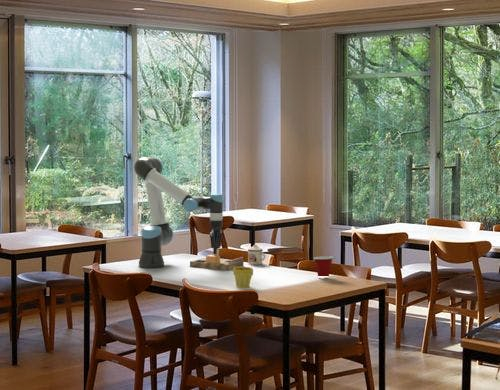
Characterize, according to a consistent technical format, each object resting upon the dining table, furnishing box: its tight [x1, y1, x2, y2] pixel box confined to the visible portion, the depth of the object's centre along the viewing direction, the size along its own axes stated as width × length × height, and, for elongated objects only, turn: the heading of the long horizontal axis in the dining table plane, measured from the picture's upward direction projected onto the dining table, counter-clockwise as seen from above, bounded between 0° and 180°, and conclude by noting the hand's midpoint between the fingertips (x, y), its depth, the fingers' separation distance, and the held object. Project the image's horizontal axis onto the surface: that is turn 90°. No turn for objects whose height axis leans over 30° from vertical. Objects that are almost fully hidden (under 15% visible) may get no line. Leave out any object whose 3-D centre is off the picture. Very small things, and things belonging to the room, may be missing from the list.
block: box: [205, 254, 221, 263], centre depth 542 cm, size 6×6×4 cm
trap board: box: [189, 256, 245, 271], centre depth 547 cm, size 27×17×6 cm, turn 63°
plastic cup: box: [313, 255, 334, 277], centre depth 510 cm, size 11×11×12 cm
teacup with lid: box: [247, 244, 266, 266], centre depth 557 cm, size 12×9×12 cm
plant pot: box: [232, 266, 254, 289], centre depth 481 cm, size 10×10×10 cm
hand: (215, 259), depth 546 cm, fingers closed
